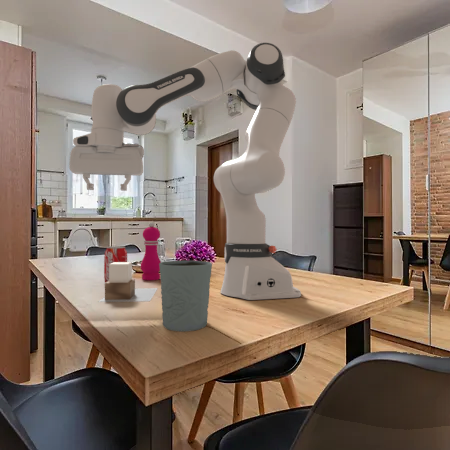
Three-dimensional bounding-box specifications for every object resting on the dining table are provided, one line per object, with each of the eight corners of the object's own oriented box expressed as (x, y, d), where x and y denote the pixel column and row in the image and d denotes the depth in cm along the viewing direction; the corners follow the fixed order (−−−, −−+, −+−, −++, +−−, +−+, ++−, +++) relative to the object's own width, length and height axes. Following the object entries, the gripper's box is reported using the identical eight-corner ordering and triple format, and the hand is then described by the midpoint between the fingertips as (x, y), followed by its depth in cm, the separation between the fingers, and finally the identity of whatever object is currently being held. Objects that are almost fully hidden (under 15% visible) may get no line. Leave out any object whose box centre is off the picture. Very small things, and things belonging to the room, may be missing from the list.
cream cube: (131, 279, 84) (131, 262, 84) (127, 282, 80) (128, 264, 80) (113, 279, 84) (114, 262, 84) (109, 282, 79) (109, 264, 79)
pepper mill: (137, 280, 112) (137, 222, 112) (145, 277, 119) (146, 222, 119) (156, 281, 111) (157, 222, 111) (164, 277, 118) (164, 222, 118)
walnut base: (134, 294, 85) (134, 278, 85) (130, 299, 79) (130, 283, 79) (111, 294, 85) (111, 279, 85) (104, 299, 79) (104, 283, 79)
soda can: (99, 284, 103) (99, 247, 103) (114, 281, 110) (114, 245, 110) (117, 286, 101) (117, 247, 101) (131, 282, 107) (131, 246, 107)
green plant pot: (154, 332, 58) (155, 265, 58) (162, 316, 68) (163, 259, 68) (211, 332, 59) (212, 265, 59) (211, 316, 69) (211, 259, 69)
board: (157, 291, 94) (157, 288, 94) (149, 305, 78) (149, 301, 78) (115, 291, 92) (115, 288, 92) (98, 305, 77) (98, 301, 77)
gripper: (145, 146, 98) (145, 191, 98) (75, 144, 97) (75, 190, 97) (142, 140, 92) (141, 189, 92) (67, 138, 90) (66, 188, 90)
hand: (107, 190), depth 94 cm, fingers open, 8 cm apart
